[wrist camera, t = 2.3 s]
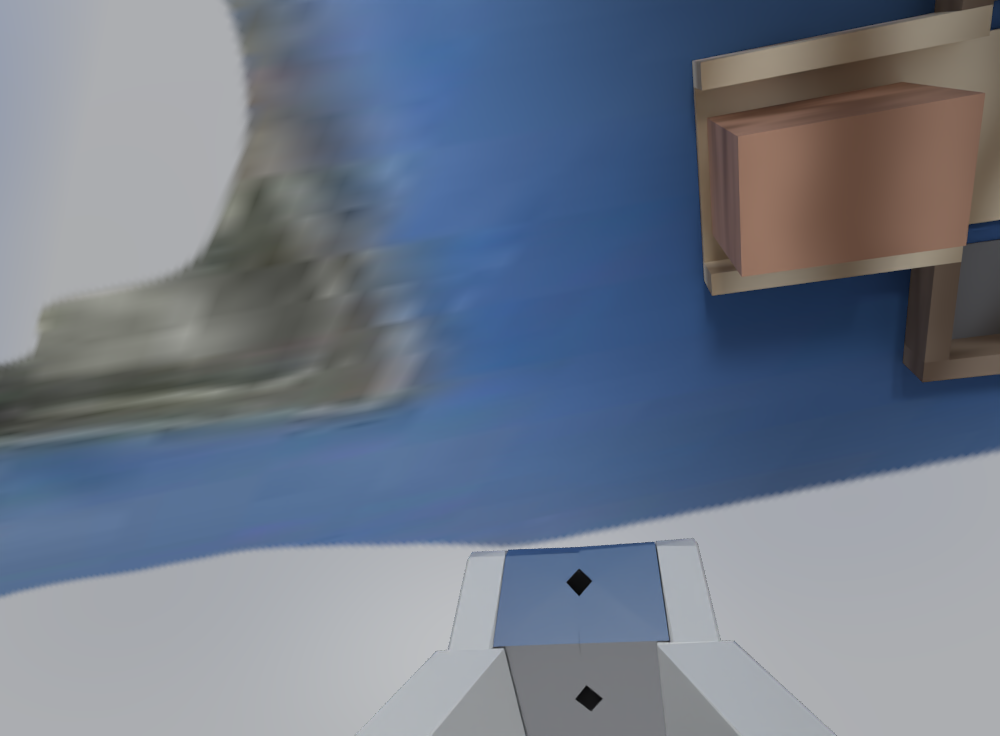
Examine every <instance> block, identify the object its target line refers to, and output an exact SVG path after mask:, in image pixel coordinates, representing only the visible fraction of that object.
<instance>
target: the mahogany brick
mask: <svg viewBox="0 0 1000 736" xmlns="http://www.w3.org/2000/svg"><path fill="white" fill-rule="evenodd" d="M984 100H985V93H983V92H975V91H968V90H960V89H953V88H945V87H937V86H930V85H922V84H914V83H907V82H900V83H894V84H889V85H883V86H878V87H872V88H867V89H861V90H856V91H850V92H845V93H840V94H834V95H829V96H823V97H818V98H812V99H807V100H801V101H796V102H790V103H785V104H779V105H774V106H769V107H763V108H758V109H752V110H747V111H741V112H736V113H730V114H725V115H719V116H714V117H708V118H707V132H708V153H709V175H710V196H711V217H712V235H713V236H714V238H715V239H716V241H717V242H718V243H719V245H720V246H721V248H722V249H723V251H724V252H725V254H726V255H727V256H728V258H729V259H730V261H731V262H732V264H733V265H734V266H735V268H736V269H737V271H738V272H739V274H740V275H741V277H745V276H752V275H760V274H767V273H774V272H781V271H788V270H795V269H803V268H810V267H817V266H824V265H831V264H838V263H846V262H853V261H860V260H867V259H874V258H881V257H889V256H896V255H903V254H910V253H917V252H924V251H932V250H939V249H946V248H953V247H960V246H966V242H967V234H968V226H969V218H970V210H971V203H972V195H973V187H974V179H975V171H976V163H977V155H978V147H979V139H980V131H981V124H982V116H983V108H984Z"/></svg>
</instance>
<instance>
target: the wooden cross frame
mask: <svg viewBox="0 0 1000 736" xmlns="http://www.w3.org/2000/svg"><path fill="white" fill-rule="evenodd" d="M994 1H996V0H935V11H934V13H930V14H925V15H920V16H915V17H910V18H905V19H900V20H895V21H890V22H885V23H880V24H875V25H870V26H865V27H860V28H855V29H850V30H845V31H840V32H835V33H830V34H825V35H820V36H815V37H810V38H805V39H800V40H794V41H789V42H784V43H779V44H774V45H769V46H764V47H759V48H754V49H749V50H744V51H739V52H734V53H729V54H724V55H719V56H714V57H709V58H704V59H699V60H694V61H692V68H693V86H694V104H695V123H696V141H697V159H698V177H699V196H700V214H701V232H702V251H703V269H704V281H705V283H706V285H707V287H708V289H709V291H710V293H711V295H712V296H713V295H721V294H728V293H735V292H743V291H750V290H758V289H765V288H772V287H780V286H787V285H794V284H802V283H809V282H817V281H824V280H831V279H839V278H846V277H853V276H861V275H868V274H875V273H883V272H890V271H898V270H905V269H911V277H910V288H909V299H908V310H907V321H906V332H905V343H904V354H903V364H905V365H906V366H907V367H908V368H909V369H910V370H911V371H912V372H913V373H914V374H915V375H916V376H917V377H918V378H919V379H920V380H921V381H922V382H930V381H939V380H948V379H958V378H967V377H976V376H986V375H995V374H1000V239H998V240H991V241H984V242H977V243H970V244H966V246H960V247H953V248H946V249H939V250H932V251H924V252H917V253H910V254H903V255H896V256H889V257H881V258H874V259H867V260H860V261H853V262H846V263H838V264H831V265H824V266H817V267H810V268H803V269H795V270H788V271H781V272H774V273H767V274H760V275H752V276H745V277H741V275H740V274H739V272H738V271H737V269H736V268H735V266H734V265H733V264H732V262H731V261H730V259H729V258H728V256H727V255H726V254H725V252H724V251H723V249H722V248H721V246H720V245H719V243H718V242H717V241H716V239H715V238H714V236H713V235H712V217H711V196H710V175H709V153H708V132H707V118H708V117H714V116H719V115H725V114H730V113H736V112H741V111H747V110H752V109H758V108H763V107H769V106H774V105H779V104H785V103H790V102H796V101H801V100H807V99H812V98H818V97H823V96H829V95H834V94H840V93H845V92H850V91H856V90H861V89H867V88H872V87H878V86H883V85H889V84H894V83H900V82H907V83H914V84H922V85H930V86H937V87H945V88H953V89H960V90H968V91H975V92H983V93H985V100H984V108H983V116H982V124H981V131H980V139H979V147H978V155H977V163H976V171H975V179H974V187H973V195H972V203H971V210H970V218H969V224H974V223H981V222H988V221H995V220H1000V28H999V29H994V30H990V28H991V20H992V12H993V4H994Z"/></svg>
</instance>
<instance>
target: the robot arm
mask: <svg viewBox="0 0 1000 736" xmlns="http://www.w3.org/2000/svg"><path fill="white" fill-rule="evenodd" d="M355 736H837V735H836V734H835V733H833V732H832V731H831V730H830V729H829V728H828V727H827V726H826V725H825V724H824V723H823V722H822V721H821V720H819V719H818V718H817V717H816V716H815V715H814V714H813V713H812V712H811V711H810V710H809V709H807V708H806V707H805V706H804V705H803V704H802V703H801V702H800V701H798V699H797V698H795V697H794V696H793V695H792V694H791V693H790V692H789V691H788V690H787V689H786V688H785V687H784V686H782V685H781V684H780V683H779V682H778V681H777V680H776V679H775V678H774V677H773V676H772V675H771V674H770V673H768V672H767V671H766V670H765V669H764V668H763V667H762V666H761V665H760V664H759V663H758V662H757V661H755V660H754V659H753V658H752V657H751V656H750V655H749V654H748V653H747V652H746V651H745V650H744V649H742V648H741V647H740V646H739V645H738V644H737V643H736V642H735V641H721V639H720V635H719V631H718V626H717V622H716V618H715V614H714V610H713V605H712V601H711V597H710V593H709V589H708V585H707V580H706V576H705V572H704V568H703V564H702V559H701V555H700V551H699V546H698V543H697V542H696V541H695V539H694V538H691V539H678V540H665V541H656V544H655V543H654V542H645V543H632V544H617V545H601V546H587V547H570V548H544V549H516V550H508V551H482V552H472V553H471V555H470V557H469V558H468V560H467V563H466V569H465V573H464V577H463V582H462V587H461V591H460V596H459V601H458V605H457V610H456V615H455V619H454V624H453V628H452V633H451V637H450V642H449V646H448V650H440V651H436V652H435V653H434V654H433V655H432V656H431V657H430V658H429V659H428V660H427V661H426V662H425V663H424V664H423V665H422V666H421V667H420V668H419V670H418V671H417V672H416V673H415V674H414V675H413V676H412V677H411V678H410V679H409V680H408V681H407V682H406V683H405V684H404V685H403V686H402V687H401V688H400V689H399V690H398V691H397V692H396V693H395V694H394V695H393V696H392V698H390V700H389V701H388V702H387V703H386V704H385V705H384V706H383V707H382V708H381V709H380V710H379V711H378V712H377V713H376V714H375V715H374V716H373V717H372V718H371V719H370V720H369V721H368V722H367V723H366V724H365V725H364V726H363V728H362V729H361V730H360V731H359V732H358V733H357V734H356V735H355Z"/></svg>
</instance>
